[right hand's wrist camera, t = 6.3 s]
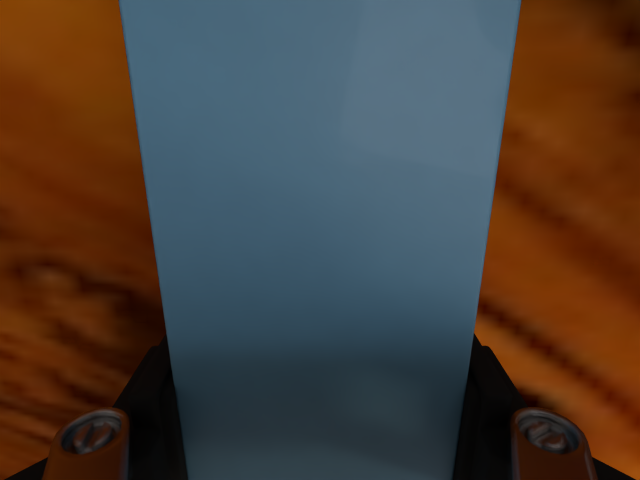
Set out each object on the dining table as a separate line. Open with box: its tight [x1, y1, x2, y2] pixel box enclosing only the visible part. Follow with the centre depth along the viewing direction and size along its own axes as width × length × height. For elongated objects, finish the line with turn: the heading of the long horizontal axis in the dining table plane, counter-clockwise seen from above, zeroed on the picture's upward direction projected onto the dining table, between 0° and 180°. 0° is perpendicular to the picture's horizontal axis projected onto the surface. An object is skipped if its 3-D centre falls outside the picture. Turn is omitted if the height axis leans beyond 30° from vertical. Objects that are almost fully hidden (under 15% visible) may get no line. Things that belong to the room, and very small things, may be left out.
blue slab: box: [119, 0, 521, 480], centre depth 11 cm, size 21×6×11 cm, turn 0°
